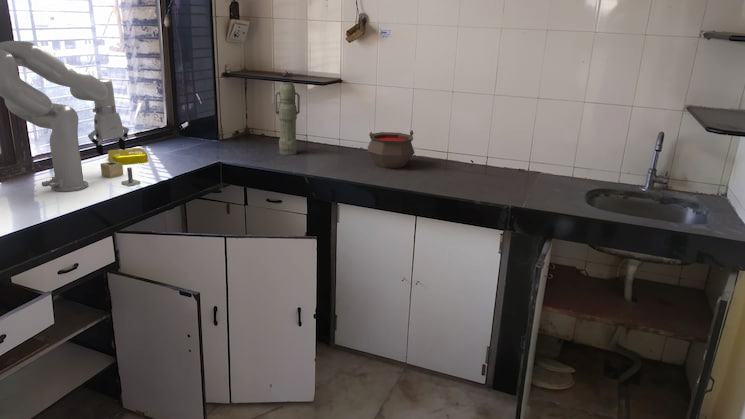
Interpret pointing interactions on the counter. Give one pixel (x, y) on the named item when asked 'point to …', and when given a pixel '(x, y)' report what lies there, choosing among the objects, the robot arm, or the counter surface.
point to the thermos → (287, 118)
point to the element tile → (128, 156)
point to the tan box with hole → (111, 169)
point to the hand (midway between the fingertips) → (111, 151)
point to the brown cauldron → (391, 149)
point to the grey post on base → (130, 179)
